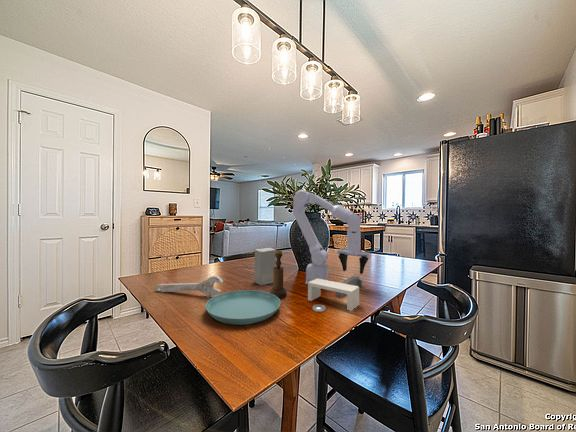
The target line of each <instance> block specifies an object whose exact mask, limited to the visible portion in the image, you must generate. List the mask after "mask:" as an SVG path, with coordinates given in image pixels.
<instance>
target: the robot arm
mask: <svg viewBox="0 0 576 432" xmlns="http://www.w3.org/2000/svg"><path fill="white" fill-rule="evenodd" d="M292 200H293V207H292V213H293V216H294V218H295V221H296V222H297V225H298V227H299V228H300V231H301V233H302V235H303V237H304V239H305V240H306V241H305V242H306V243H307V246H308V248H309V253H310V256H311V258H310V259H311V263H308V264H307V266H306V268H305V285H308V282H310V281H312V280H315V279H317V278H318V279H323V280H328V277H329V275H328V273H329V270H328V266H329V264H328V263H327V260H328V259H329V255H328V254H329V253H328V252H327V250H326V249H324V248H323V246H322V244H321V243H320V242H319V239H318V237H317V236H316V234H315V232H314V230H313V228H312V225H311V223H310V221H309V219H308V217H307V215H306V213H305V212H306V210H307V207H308V206H309V205H310V204H312V205H315V204H316V205H318V206H320V207H321V208H324V209H326V210H328V211H329V212H331V216H332V217H334V218H335V219H338V220H339V221H341V222H343V223H345V224H347V233H346V236H347V237H346V249H341V248H340V249H337V250H336V251H337V252H336V254H337V255H338V260H339V261H340V263H341V267H342V271H343V272H346V271H347V269H348V268H347V267H348V265H347V264H348V263H347V262H348V257H349V256H353V257H359V259H358V260H359V275H363V274H364V271H365V267H366V264H367V263H368V261H369V259H370V258H371V252H366V251H361V237H362V235H361V232H362V231H361V224H362V218H361V217H360V216H359V215H358V214H357V213H354V211H353V210H349V209H347V208H345V206H344V205H341V204H337V205H335V204H332V203H331V202H329V201H328V200H326V199H324V198H323V197H321V196H319V195H317V194H314V193H311V192H309V191H307V190H304V189H299V190H297V191H296V192H295V194H294V196H293V198H292Z"/></svg>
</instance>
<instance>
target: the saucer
mask: <svg viewBox="0 0 576 432" xmlns="http://www.w3.org/2000/svg"><path fill="white" fill-rule="evenodd" d="M280 306H281V299H279V298H278V297H276V296H275V295H273V294H270V292H267V291H261V290H253V289H252V290H250V289H247V290H246V289H245V290H241V289H240V290H233V291H227V292H224V293H223V292H222V293H219V294H217V295H214V296H213V297H211V298H210V299H208V300H207V302H206V303H205V309H206V311H207V313H208V315H210V317H212V318H213V319H215V320H216V321H218V322H221V323H223V324H227V325H237V326H238V325H240V326H242V325H243V326H244V325H252V324H256V323H260V322H263V321H266V320H267V319H269V318H271V317H272V316H273V315H274V314H276V312H277V311H278V310H279V308H280Z"/></svg>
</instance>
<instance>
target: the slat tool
mask: <svg viewBox="0 0 576 432" xmlns="http://www.w3.org/2000/svg"><path fill="white" fill-rule="evenodd" d="M340 283H344V284H349V285H354V286H360V287H363V279H362V278H360V274H359V275H356V274H354V275H352V276H351V277H349V278H347V279H345V280H344V281H341V282H340ZM360 287H359V288H360ZM336 296H337V298H340V297H341V298H342V297H344V296H346V294H344V293H340V292H335V297H336Z"/></svg>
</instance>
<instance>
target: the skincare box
mask: <svg viewBox="0 0 576 432" xmlns="http://www.w3.org/2000/svg"><path fill="white" fill-rule="evenodd" d="M276 251H277V250H276V249H275V248H271V247H266V248H265V247H264V248H263V247H262V248H254V283H256V284H257V285H259V286H264V285H269V284H273V268H274V267H276V261H277V258H276V256H275V252H276Z"/></svg>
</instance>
